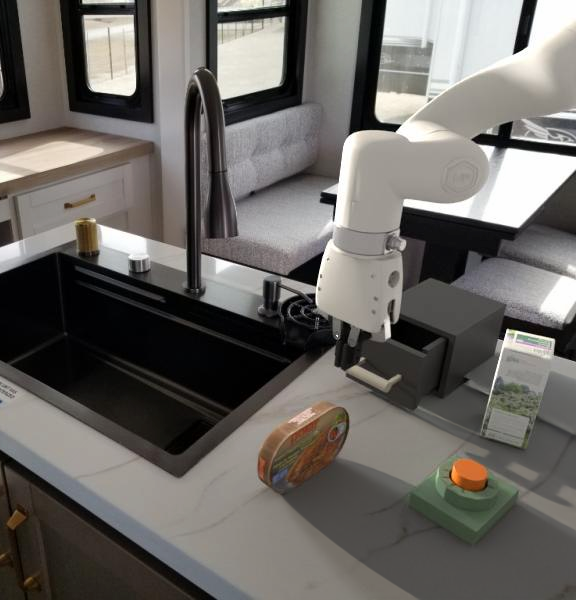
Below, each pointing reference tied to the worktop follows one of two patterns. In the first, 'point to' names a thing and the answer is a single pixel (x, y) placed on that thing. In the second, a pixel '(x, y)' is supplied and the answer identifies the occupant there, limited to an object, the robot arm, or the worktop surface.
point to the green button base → (462, 503)
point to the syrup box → (517, 388)
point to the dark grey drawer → (402, 364)
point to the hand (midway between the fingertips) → (346, 364)
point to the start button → (469, 475)
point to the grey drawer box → (455, 326)
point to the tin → (302, 446)
